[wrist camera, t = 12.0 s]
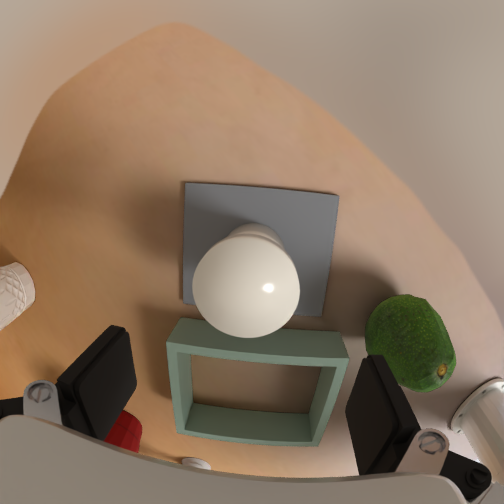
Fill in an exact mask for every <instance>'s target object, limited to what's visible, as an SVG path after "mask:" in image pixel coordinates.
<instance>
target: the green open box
mask: <svg viewBox="0 0 504 504" xmlns="http://www.w3.org/2000/svg"><path fill="white" fill-rule="evenodd" d="M166 347H167V359H168V369H169V378H170V387H171V395H172V403H173V410H174V417H175V424H176V430H177V433H180V434H185V435H190V436H195V437H201V438H207V439H213V440H220V441H228V442H236V443H246V444H257V445H272V446H318V445H319V443H320V441H321V438H322V436H323V433H324V431H325V428H326V426H327V423H328V421H329V418H330V415H331V413H332V410H333V407H334V404H335V402H336V399H337V396H338V393H339V390H340V387H341V384H342V381H343V378H344V375H345V372H346V369H347V365H348V362H349V359H350V358H349V356H348V353H347V350H346V348H345V345H344V342H343V340H342V337H341V335H340V332H335V331H315V330H298V329H284V328H279V329H278V330H276V331H274V332H272V333H270V334H267V335H264V336H260V337H255V338H242V337H236V336H232V335H229V334H226V333H224V332H222V331H220V330H218V329H216V328H215V327H214V326H212V325H211V324H210V323H209V322H208V321H206V320H198V319H191V318H184V317H181V318H180V319H179V321H178V322H177V324H176V326H175V327H174V329H173V331H172V332H171V334H170V336H169V337H168V339H167V341H166ZM191 354H193V355H200V356H206V357H214V358H221V359H230V360H238V361H248V362H258V363H270V364H283V365H300V366H322V368H321V372H320V376H319V379H318V383H317V387H316V390H315V394H314V397H313V401H312V404H311V407H310V411H309V414H301V413H278V412H263V411H251V410H241V409H232V408H224V407H217V406H210V405H204V404H198V403H193V390H192V372H191Z"/></svg>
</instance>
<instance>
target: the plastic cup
mask: <svg viewBox="0 0 504 504" xmlns="http://www.w3.org/2000/svg"><path fill="white" fill-rule="evenodd" d="M141 435H142V425H141V424H140V422H139V420H137V419H136V418H135V417H134V416H133V415H131V414H129V413H128V412H125V411H123V410H122V412H121V413H120V415H119V417H118V418H117V420H116V422H115V423H114V425H113V427H112V428H111V430H110V432H109V433H108V435H107V437H106V438H105V440H104V441H103V442H106V443H109V444H112V445H115V446H118V447H120V448H123V449H126V450H130V451H133V452H136V453H138V451H139V446H140V445H139V443H140V439H141Z"/></svg>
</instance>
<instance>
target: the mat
mask: <svg viewBox="0 0 504 504" xmlns="http://www.w3.org/2000/svg"><path fill="white" fill-rule="evenodd" d="M338 204H339V196H338V195H330V194H322V193H313V192H304V191H295V190H285V189H274V188H263V187H251V186H237V185H222V184H204V183H185V203H184V233H183V303H184V304H192V305H196V303H195V300H194V297H193V290H192V283H193V277H194V273H195V270H196V268H197V266H198V264H199V262H200V261H201V259H202V258H203V257H204V255H205V254H206V253H207V252H208V250H209V249H210V248H211V247H212V246H213V245H214V244H216V243H217V242H219V241H220V240H222V239H224V238H226V237H227V236H228V235H229V234H230V233H231V232H232V231H233V230H234V229H235V228H237V227H239V226H241V225H244V224H248V223H259V224H263V225H266V226H268V227H270V228H271V229H273V230H274V231H275V232H276V233H277V234H278V235H279V236H280V238H281V239H282V241H283V244H284V247H285V251H286V252H287V253H288V254H289V256H290V257H291V259H292V261H293V262H294V265H295V267H296V271H297V275H298V280H299V285H300V295H299V301H298V305H297V307H296V310H295V311H294V313H293V315H302V316H318V317H321V314H322V309H323V304H324V298H325V293H326V287H327V281H328V275H329V269H330V263H331V257H332V250H333V243H334V236H335V229H336V221H337V213H338Z"/></svg>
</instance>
